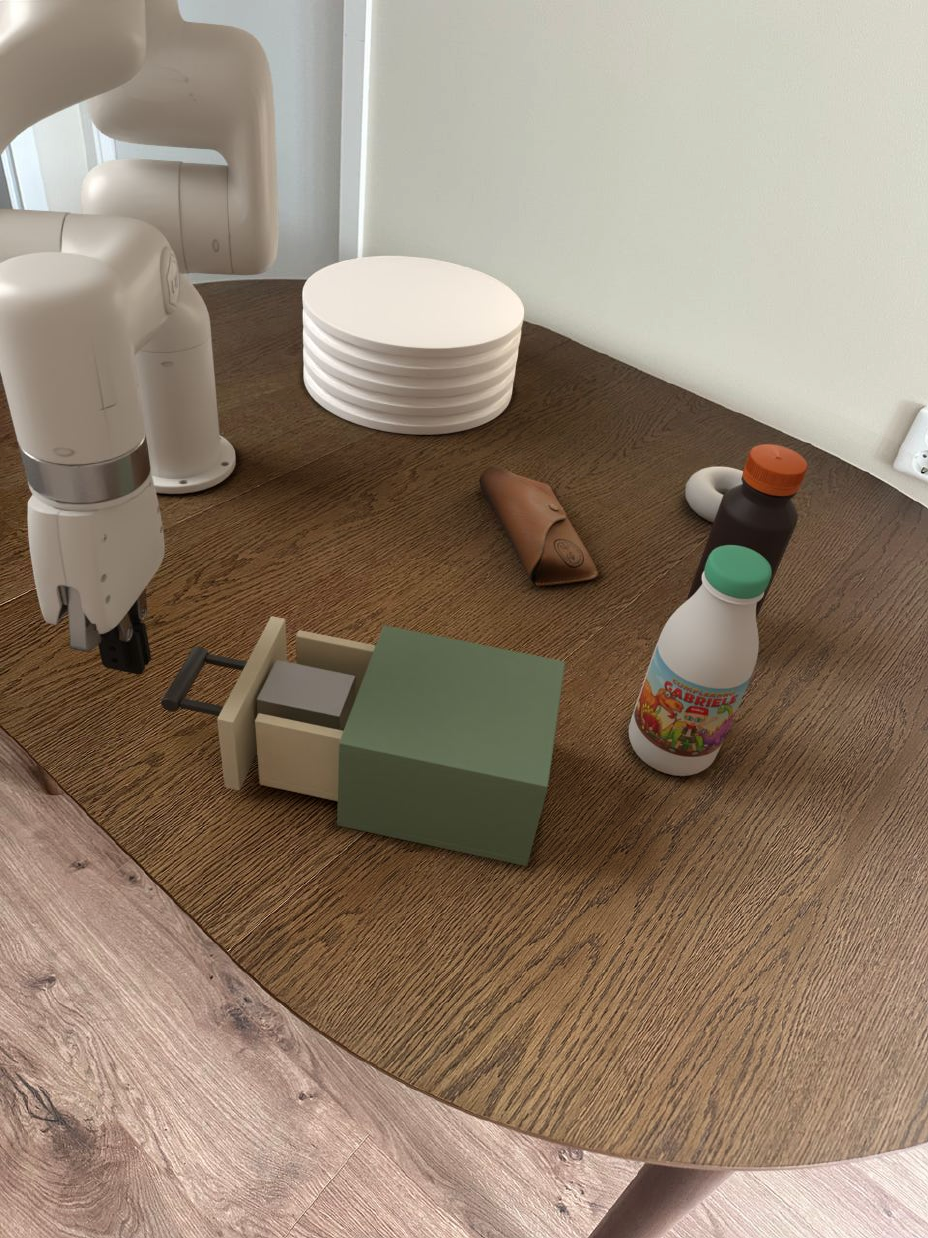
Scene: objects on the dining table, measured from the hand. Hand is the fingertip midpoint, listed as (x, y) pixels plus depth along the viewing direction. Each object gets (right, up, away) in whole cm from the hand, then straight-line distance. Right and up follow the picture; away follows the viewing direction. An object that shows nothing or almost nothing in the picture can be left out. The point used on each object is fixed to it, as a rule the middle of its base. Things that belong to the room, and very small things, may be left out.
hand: (127, 664), depth 70 cm
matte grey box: (+14, -6, +2) cm, 15 cm away
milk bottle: (+44, -7, +8) cm, 45 cm away
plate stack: (+19, +35, +53) cm, 66 cm away
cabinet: (+25, -10, +3) cm, 27 cm away
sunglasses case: (+34, +13, +30) cm, 47 cm away
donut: (+57, +16, +37) cm, 70 cm away
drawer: (+13, -6, +3) cm, 14 cm away
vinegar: (+51, +2, +20) cm, 55 cm away
